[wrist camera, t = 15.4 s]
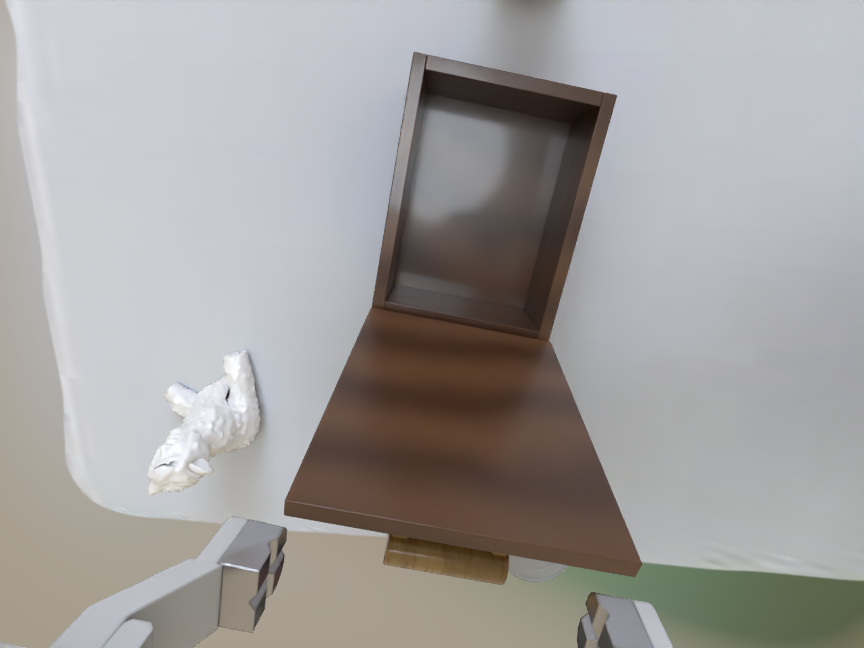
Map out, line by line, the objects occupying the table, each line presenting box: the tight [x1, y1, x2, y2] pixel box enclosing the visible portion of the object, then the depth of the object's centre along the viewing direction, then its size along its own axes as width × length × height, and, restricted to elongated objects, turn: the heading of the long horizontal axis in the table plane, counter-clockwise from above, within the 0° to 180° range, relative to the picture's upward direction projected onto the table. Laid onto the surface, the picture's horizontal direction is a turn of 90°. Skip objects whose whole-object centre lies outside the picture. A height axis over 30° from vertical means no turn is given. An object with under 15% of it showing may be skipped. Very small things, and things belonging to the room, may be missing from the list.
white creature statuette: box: [147, 350, 261, 495], centre depth 39 cm, size 10×9×12 cm
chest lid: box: [284, 307, 642, 585], centre depth 26 cm, size 19×14×5 cm
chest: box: [372, 52, 617, 341], centre depth 36 cm, size 18×14×8 cm
